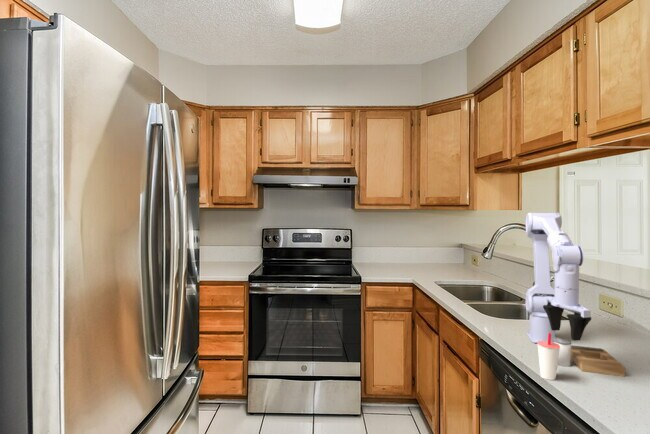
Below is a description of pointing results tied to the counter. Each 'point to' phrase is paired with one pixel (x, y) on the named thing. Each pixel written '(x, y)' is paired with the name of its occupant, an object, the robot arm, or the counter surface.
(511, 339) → the counter surface
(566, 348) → the salt shaker
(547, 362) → the cup
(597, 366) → the jig
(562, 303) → the robot arm
